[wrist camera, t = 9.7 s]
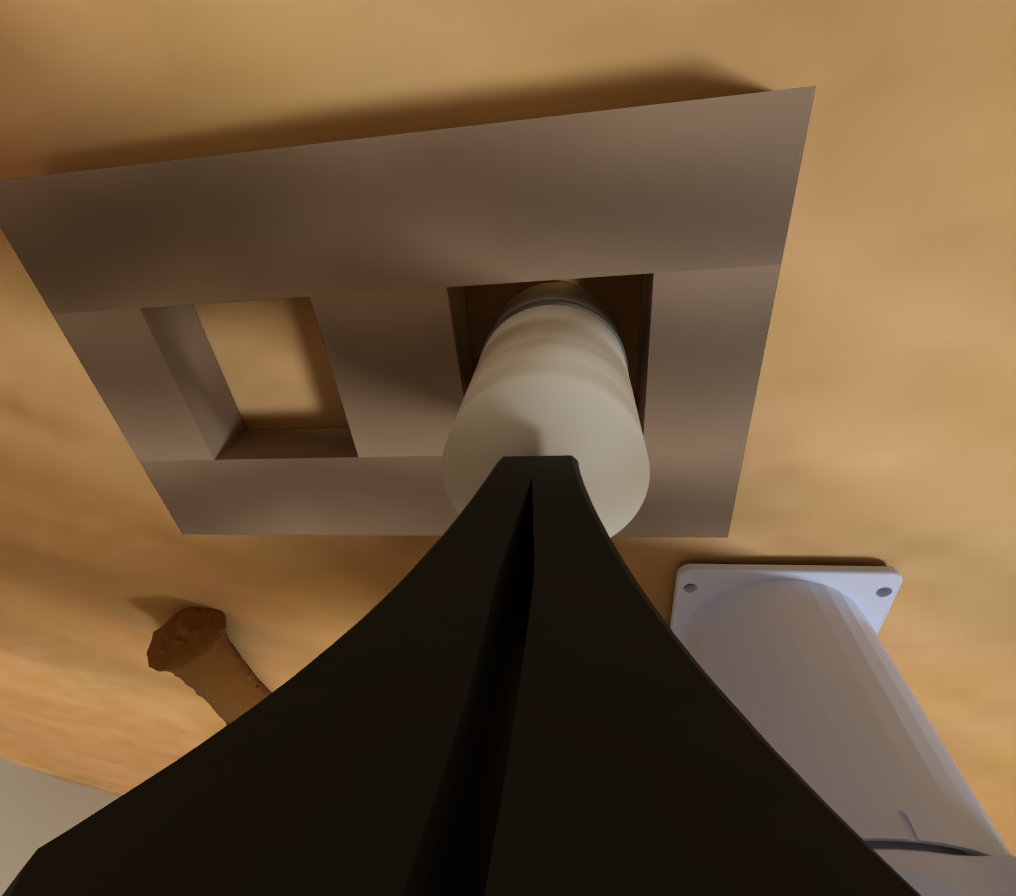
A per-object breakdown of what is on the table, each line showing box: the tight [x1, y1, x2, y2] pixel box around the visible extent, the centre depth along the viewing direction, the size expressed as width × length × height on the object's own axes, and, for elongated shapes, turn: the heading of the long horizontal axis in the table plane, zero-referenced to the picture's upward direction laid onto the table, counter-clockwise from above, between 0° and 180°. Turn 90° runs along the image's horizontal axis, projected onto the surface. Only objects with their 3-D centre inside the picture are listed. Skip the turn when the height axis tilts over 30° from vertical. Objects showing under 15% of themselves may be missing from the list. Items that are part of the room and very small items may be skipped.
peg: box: [442, 282, 650, 538], centre depth 12 cm, size 4×4×7 cm
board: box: [0, 86, 816, 537], centre depth 15 cm, size 12×20×2 cm, turn 95°
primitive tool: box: [147, 607, 271, 725], centre depth 29 cm, size 19×6×4 cm, turn 9°
